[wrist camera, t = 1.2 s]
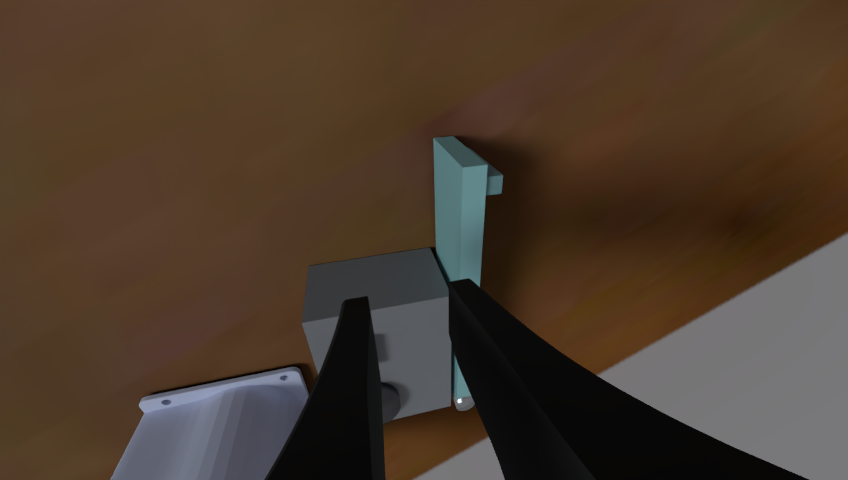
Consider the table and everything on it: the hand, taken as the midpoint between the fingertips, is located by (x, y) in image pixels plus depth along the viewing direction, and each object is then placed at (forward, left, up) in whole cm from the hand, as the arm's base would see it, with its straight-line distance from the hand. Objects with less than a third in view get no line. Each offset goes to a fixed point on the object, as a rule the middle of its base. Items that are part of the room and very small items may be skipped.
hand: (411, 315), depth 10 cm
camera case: (-1, -8, -9) cm, 13 cm away
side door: (+4, -5, -9) cm, 11 cm away
